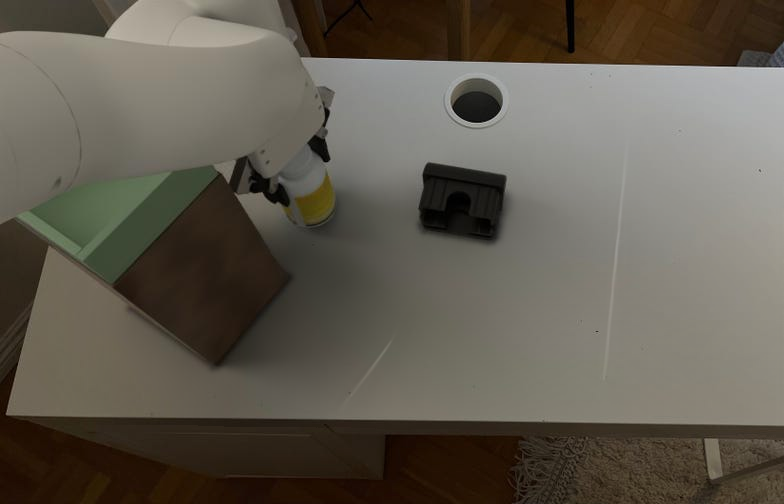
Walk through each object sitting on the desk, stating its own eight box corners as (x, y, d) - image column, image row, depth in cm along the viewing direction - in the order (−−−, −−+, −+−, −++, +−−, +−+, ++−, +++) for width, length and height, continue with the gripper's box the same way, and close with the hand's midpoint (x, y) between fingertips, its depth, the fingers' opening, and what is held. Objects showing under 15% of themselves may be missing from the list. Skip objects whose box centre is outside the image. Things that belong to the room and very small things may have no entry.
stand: (214, 366, 74) (112, 287, 53) (131, 307, 77) (1, 210, 55) (288, 278, 79) (222, 173, 58) (207, 226, 82) (115, 106, 60)
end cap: (504, 193, 85) (508, 165, 79) (495, 241, 82) (498, 216, 76) (429, 181, 86) (427, 152, 79) (418, 228, 83) (414, 202, 76)
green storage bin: (112, 284, 53) (82, 261, 49) (5, 209, 55) (-32, 181, 51) (219, 174, 57) (200, 144, 53) (115, 109, 60) (90, 76, 56)
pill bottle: (347, 201, 83) (332, 147, 72) (315, 239, 80) (294, 189, 70) (307, 176, 84) (286, 121, 74) (274, 213, 82) (247, 161, 71)
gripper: (286, -2, 64) (321, 113, 80) (157, 116, 57) (223, 216, 73) (347, 30, 62) (370, 141, 78) (222, 156, 56) (275, 249, 72)
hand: (299, 176), depth 76 cm, fingers closed on pill bottle, 6 cm apart
